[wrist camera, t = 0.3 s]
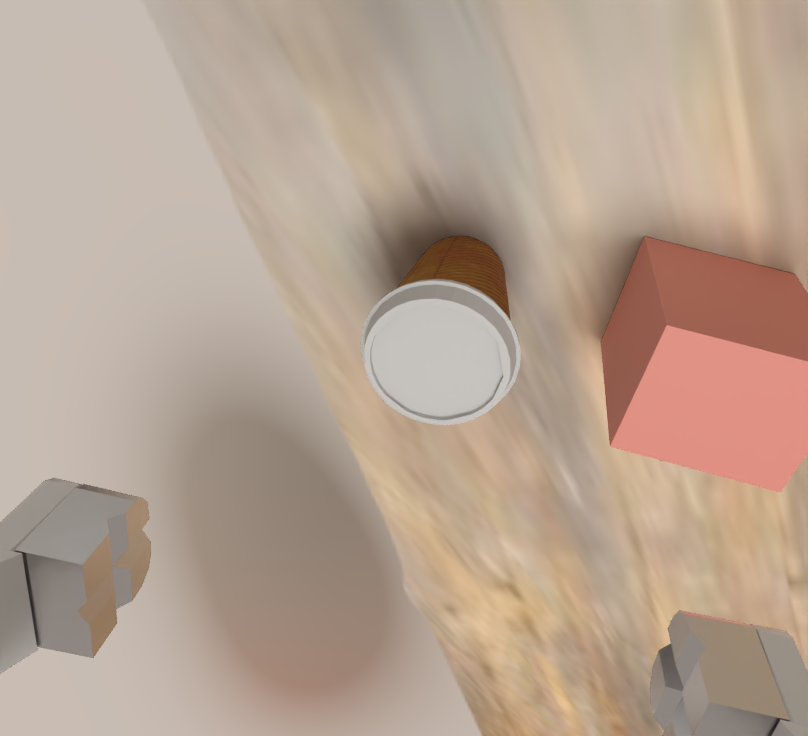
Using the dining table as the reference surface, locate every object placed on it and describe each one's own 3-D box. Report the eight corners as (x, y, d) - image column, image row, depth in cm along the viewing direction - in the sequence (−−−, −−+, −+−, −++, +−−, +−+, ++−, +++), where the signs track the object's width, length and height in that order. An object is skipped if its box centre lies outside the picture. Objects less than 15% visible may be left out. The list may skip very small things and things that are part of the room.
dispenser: (645, 233, 46) (668, 321, 36) (796, 271, 46) (862, 371, 36) (599, 344, 51) (608, 448, 41) (736, 379, 51) (778, 494, 41)
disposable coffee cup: (498, 352, 53) (483, 452, 43) (380, 308, 53) (338, 398, 43) (550, 242, 48) (546, 327, 38) (419, 193, 48) (381, 265, 38)
